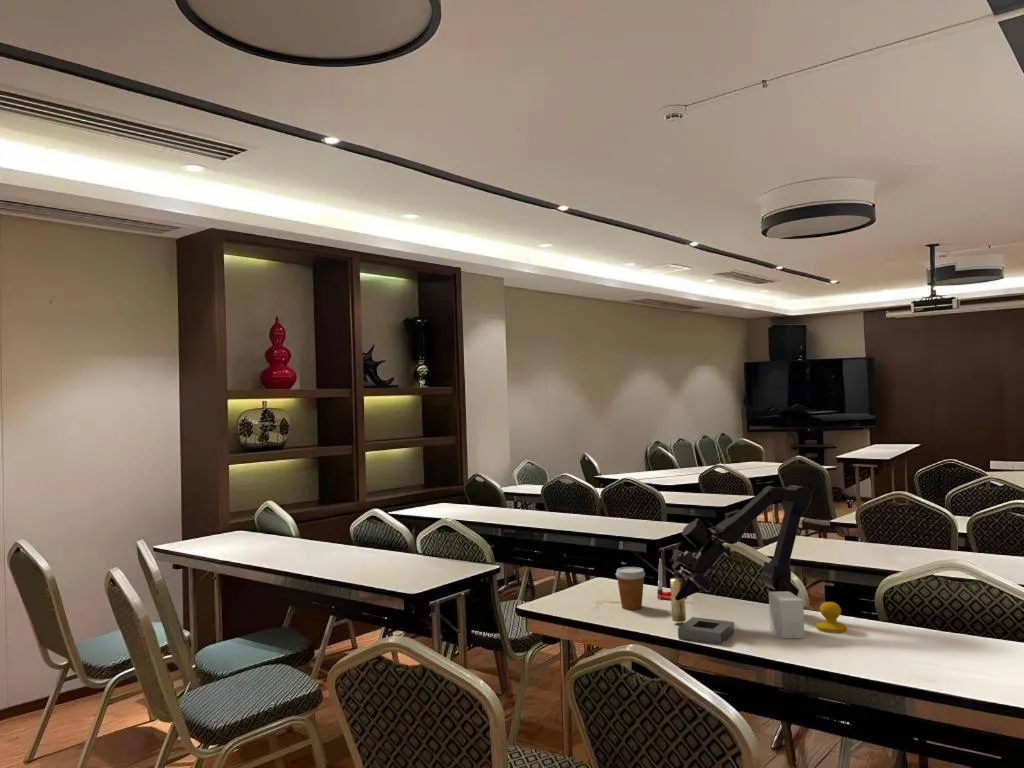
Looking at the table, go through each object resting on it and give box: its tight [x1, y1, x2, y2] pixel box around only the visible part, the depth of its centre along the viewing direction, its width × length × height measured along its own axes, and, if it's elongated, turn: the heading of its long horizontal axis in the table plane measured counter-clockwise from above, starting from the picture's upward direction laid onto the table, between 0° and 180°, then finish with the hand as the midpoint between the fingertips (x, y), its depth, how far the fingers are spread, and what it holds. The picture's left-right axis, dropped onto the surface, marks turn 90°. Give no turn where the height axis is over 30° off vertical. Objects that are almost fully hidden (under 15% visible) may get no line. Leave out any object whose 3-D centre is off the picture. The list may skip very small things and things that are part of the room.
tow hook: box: [657, 558, 671, 601], centre depth 255 cm, size 8×13×9 cm
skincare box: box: [768, 591, 805, 640], centre depth 212 cm, size 10×6×10 cm, turn 0°
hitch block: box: [677, 616, 735, 646], centre depth 212 cm, size 12×12×3 cm
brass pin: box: [669, 577, 687, 623], centre depth 225 cm, size 4×4×12 cm
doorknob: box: [815, 601, 848, 634], centre depth 214 cm, size 8×8×8 cm
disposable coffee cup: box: [615, 566, 646, 611], centre depth 245 cm, size 10×10×12 cm
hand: (673, 597), depth 224 cm, fingers closed on brass pin, 4 cm apart
